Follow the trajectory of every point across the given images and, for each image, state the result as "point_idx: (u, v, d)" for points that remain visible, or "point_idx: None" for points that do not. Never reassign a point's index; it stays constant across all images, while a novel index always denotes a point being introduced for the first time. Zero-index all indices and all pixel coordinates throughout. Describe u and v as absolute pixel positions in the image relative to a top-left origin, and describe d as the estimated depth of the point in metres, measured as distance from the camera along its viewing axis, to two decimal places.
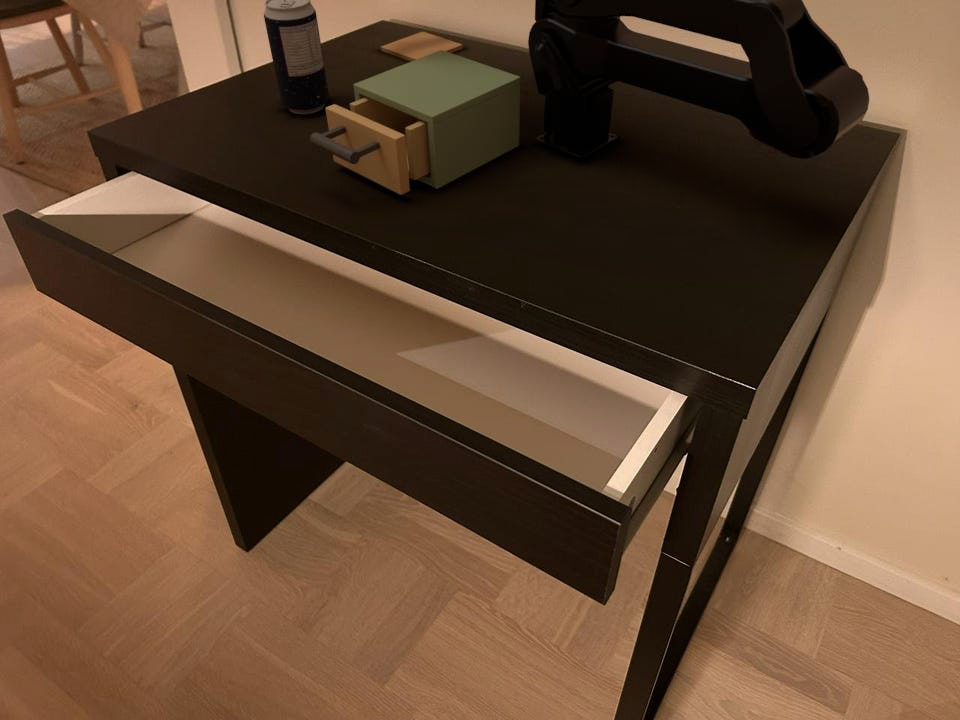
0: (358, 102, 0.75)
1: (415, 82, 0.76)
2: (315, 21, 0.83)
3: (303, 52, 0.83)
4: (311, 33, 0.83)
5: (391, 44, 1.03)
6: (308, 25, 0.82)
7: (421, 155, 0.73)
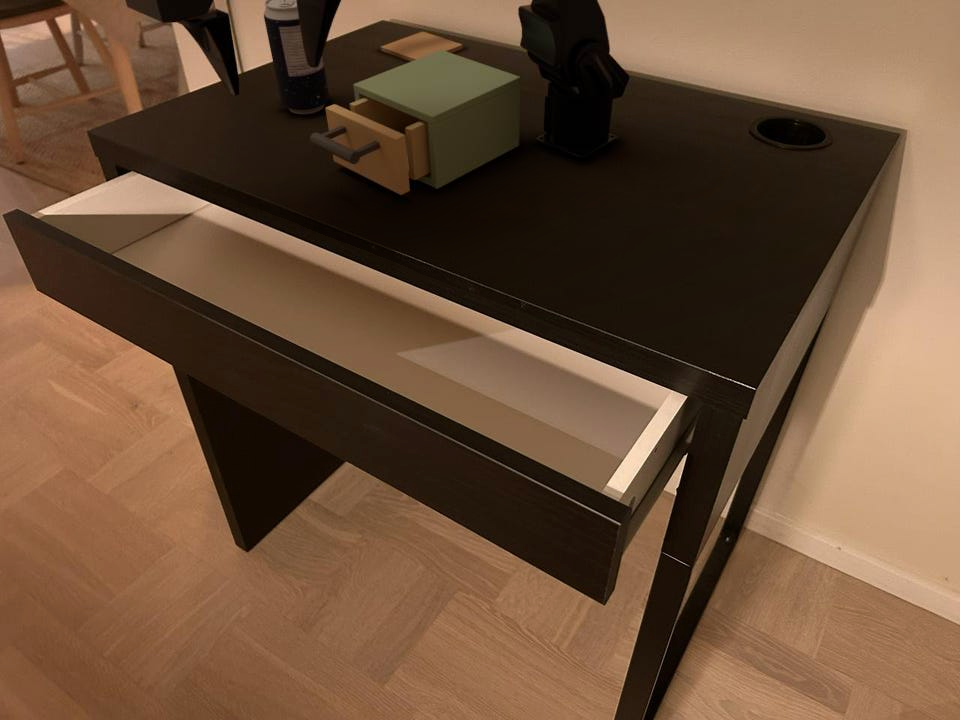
0: (358, 102, 0.75)
1: (415, 82, 0.76)
2: None
3: (303, 52, 0.83)
4: None
5: (391, 44, 1.03)
6: None
7: (421, 155, 0.73)
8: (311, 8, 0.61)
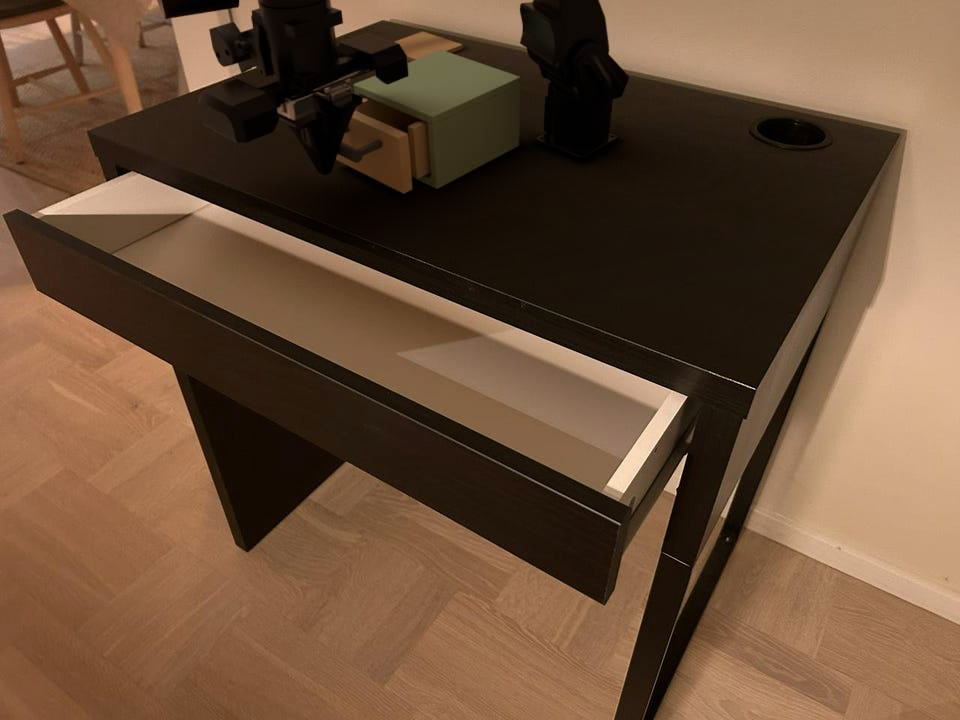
0: None
1: (415, 82, 0.76)
2: None
3: None
4: None
5: None
6: None
7: (424, 154, 0.73)
8: None
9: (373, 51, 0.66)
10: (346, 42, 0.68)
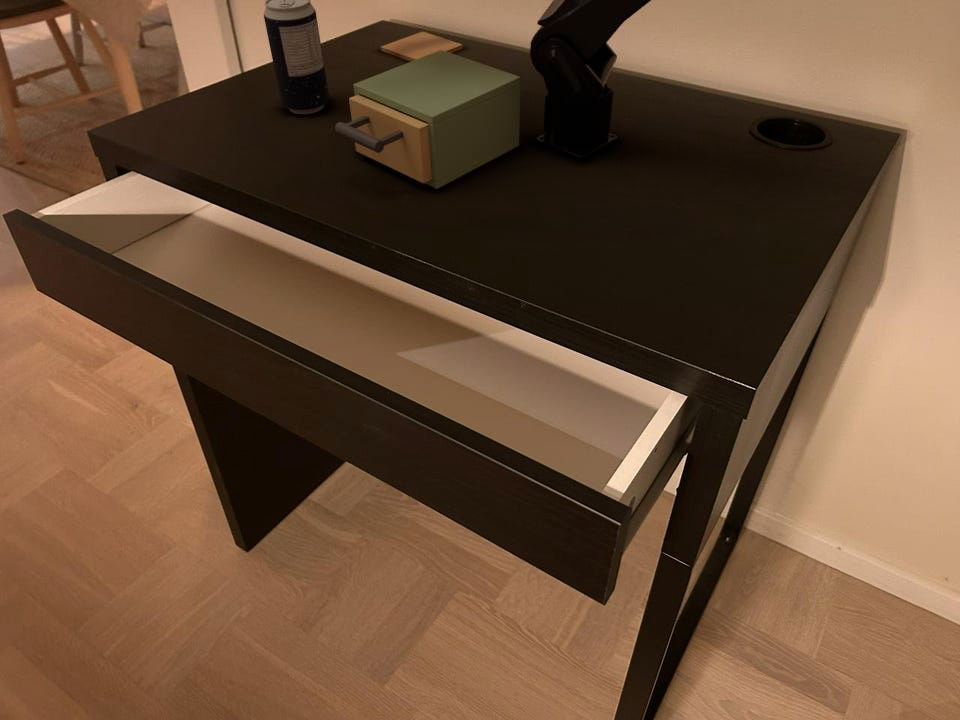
0: None
1: (415, 82, 0.76)
2: (315, 21, 0.83)
3: (303, 52, 0.83)
4: (311, 33, 0.83)
5: (391, 44, 1.03)
6: (308, 25, 0.82)
7: None
8: None
9: None
10: None
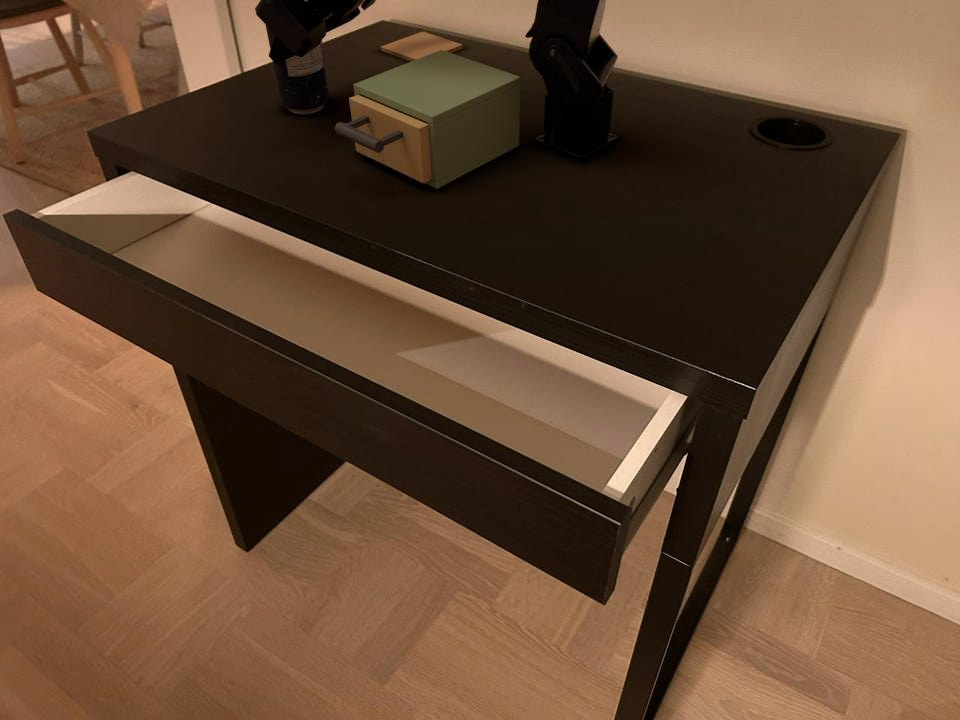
0: None
1: (415, 82, 0.76)
2: None
3: None
4: None
5: (391, 44, 1.03)
6: None
7: None
8: None
9: None
10: None
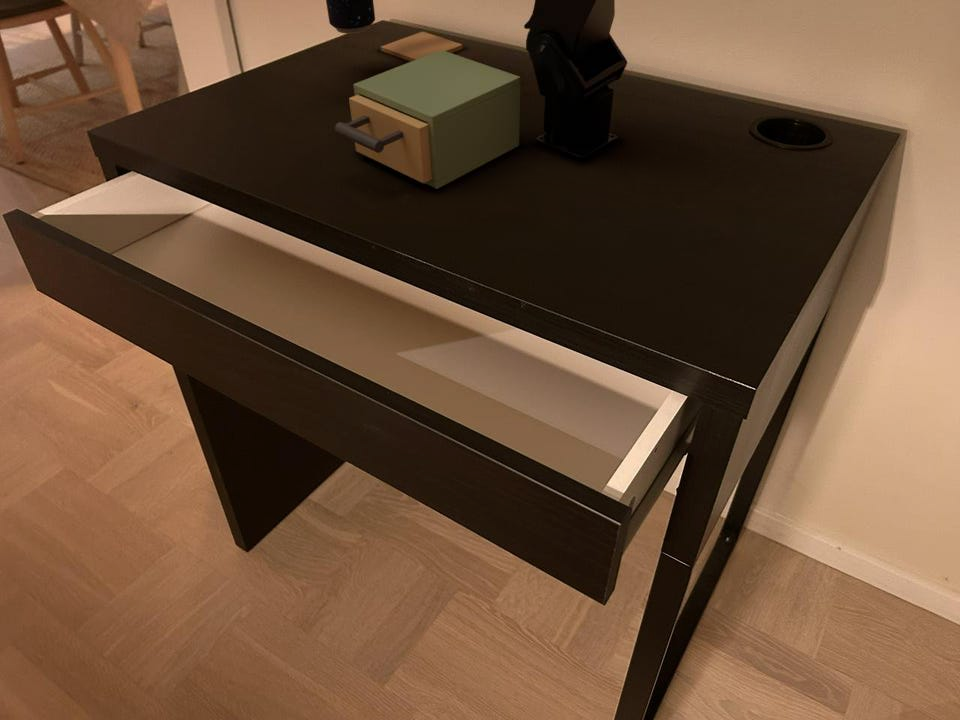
0: None
1: (415, 82, 0.76)
2: None
3: None
4: None
5: (391, 44, 1.03)
6: None
7: None
8: None
9: None
10: None
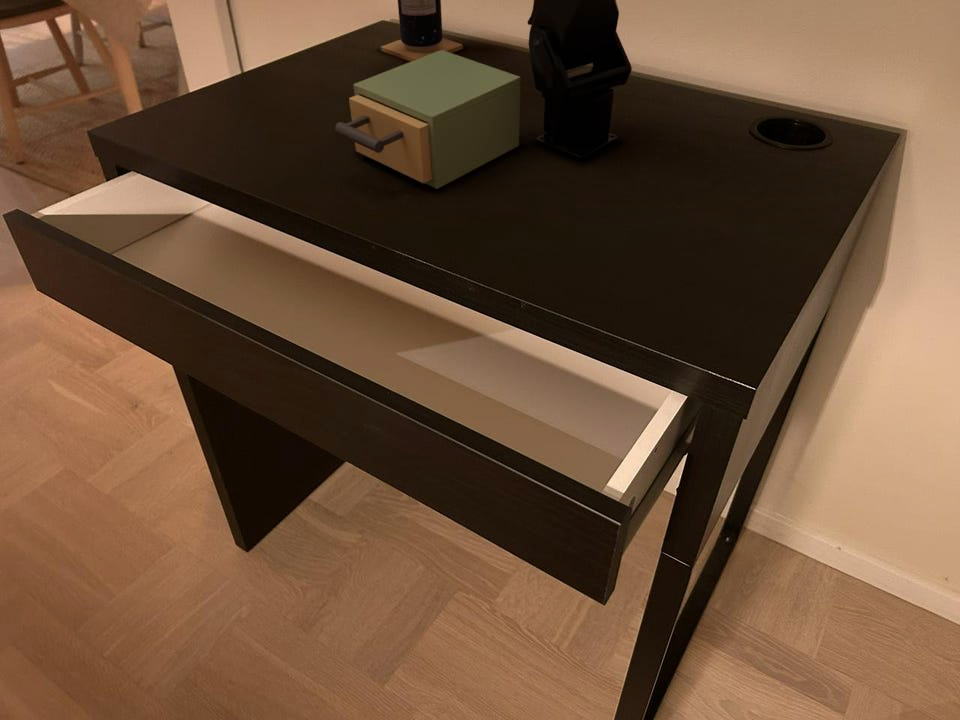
0: None
1: (415, 82, 0.76)
2: None
3: None
4: None
5: (391, 44, 1.03)
6: None
7: None
8: None
9: None
10: None
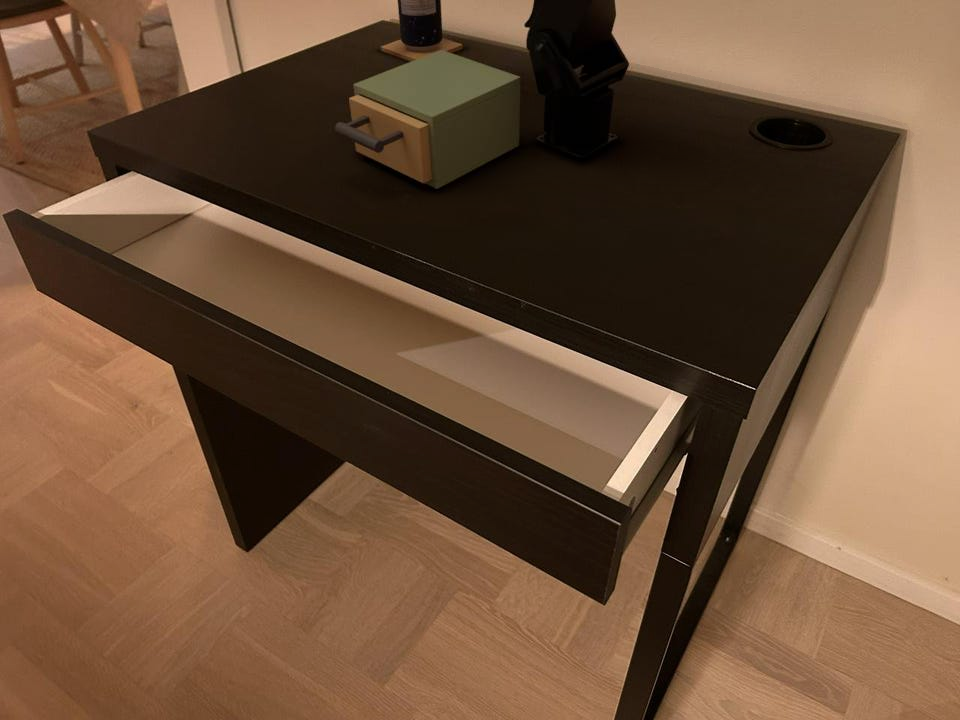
0: None
1: (415, 82, 0.76)
2: None
3: None
4: None
5: (391, 44, 1.03)
6: None
7: None
8: None
9: None
10: None
